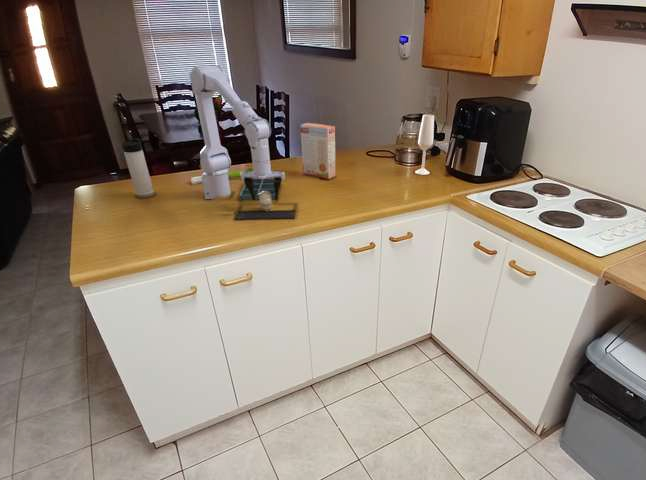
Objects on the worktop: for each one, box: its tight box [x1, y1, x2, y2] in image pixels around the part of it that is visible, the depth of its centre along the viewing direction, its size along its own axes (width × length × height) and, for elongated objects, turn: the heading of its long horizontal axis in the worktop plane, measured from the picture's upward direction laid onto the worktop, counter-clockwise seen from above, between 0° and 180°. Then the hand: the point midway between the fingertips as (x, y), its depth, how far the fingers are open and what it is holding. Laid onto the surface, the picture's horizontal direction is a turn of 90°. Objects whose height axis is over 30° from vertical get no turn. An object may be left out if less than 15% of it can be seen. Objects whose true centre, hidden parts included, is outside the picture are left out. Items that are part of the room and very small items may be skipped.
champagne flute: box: [414, 114, 435, 176], centre depth 178 cm, size 7×7×24 cm
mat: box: [234, 209, 296, 221], centre depth 144 cm, size 20×14×1 cm
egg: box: [258, 191, 274, 211], centre depth 142 cm, size 4×4×7 cm
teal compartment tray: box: [239, 179, 276, 202], centre depth 159 cm, size 13×20×3 cm
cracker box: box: [300, 122, 336, 180], centre depth 173 cm, size 14×6×21 cm, turn 58°
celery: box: [191, 167, 254, 186], centre depth 170 cm, size 6×7×30 cm
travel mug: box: [121, 138, 155, 199], centre depth 151 cm, size 6×7×20 cm
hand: (265, 199), depth 142 cm, fingers open, 7 cm apart
